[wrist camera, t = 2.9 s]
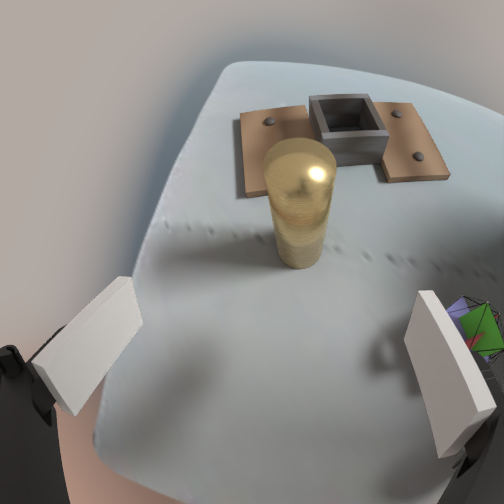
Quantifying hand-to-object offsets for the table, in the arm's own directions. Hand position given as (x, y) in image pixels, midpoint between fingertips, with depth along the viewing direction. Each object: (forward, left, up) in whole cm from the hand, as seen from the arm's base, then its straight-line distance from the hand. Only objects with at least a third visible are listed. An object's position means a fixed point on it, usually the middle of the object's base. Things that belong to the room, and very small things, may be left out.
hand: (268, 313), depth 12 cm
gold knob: (-2, -8, -12) cm, 15 cm away
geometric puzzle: (-15, +3, -12) cm, 20 cm away
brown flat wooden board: (-9, -20, -12) cm, 25 cm away
